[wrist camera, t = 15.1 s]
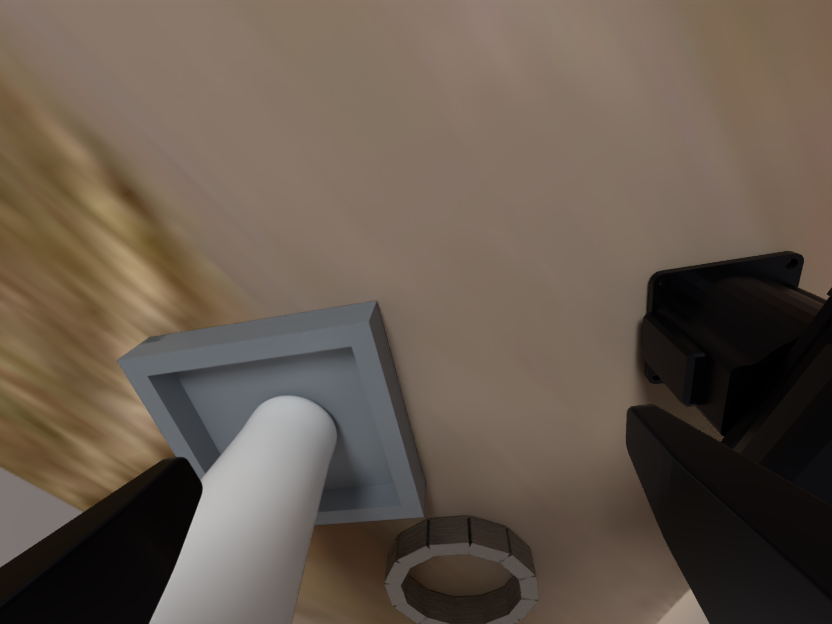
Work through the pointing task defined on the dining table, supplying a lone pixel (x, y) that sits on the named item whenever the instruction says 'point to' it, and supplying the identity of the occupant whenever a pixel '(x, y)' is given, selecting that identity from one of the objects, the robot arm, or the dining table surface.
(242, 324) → the tray
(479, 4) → the dining table surface
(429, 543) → the holder ring
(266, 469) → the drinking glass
